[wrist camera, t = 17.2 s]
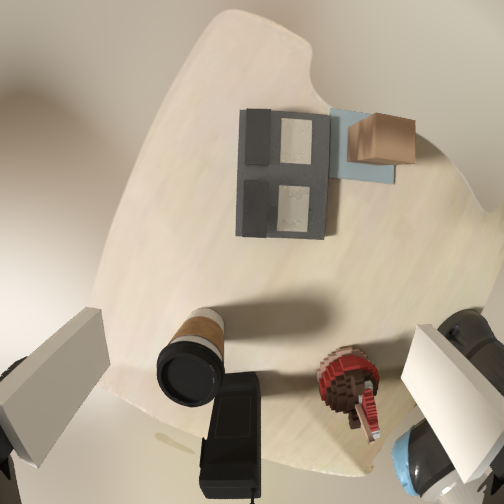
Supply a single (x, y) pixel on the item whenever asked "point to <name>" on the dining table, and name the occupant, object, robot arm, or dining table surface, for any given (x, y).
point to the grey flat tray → (282, 174)
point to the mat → (339, 152)
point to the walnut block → (381, 140)
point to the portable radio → (233, 441)
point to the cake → (351, 388)
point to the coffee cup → (194, 360)
